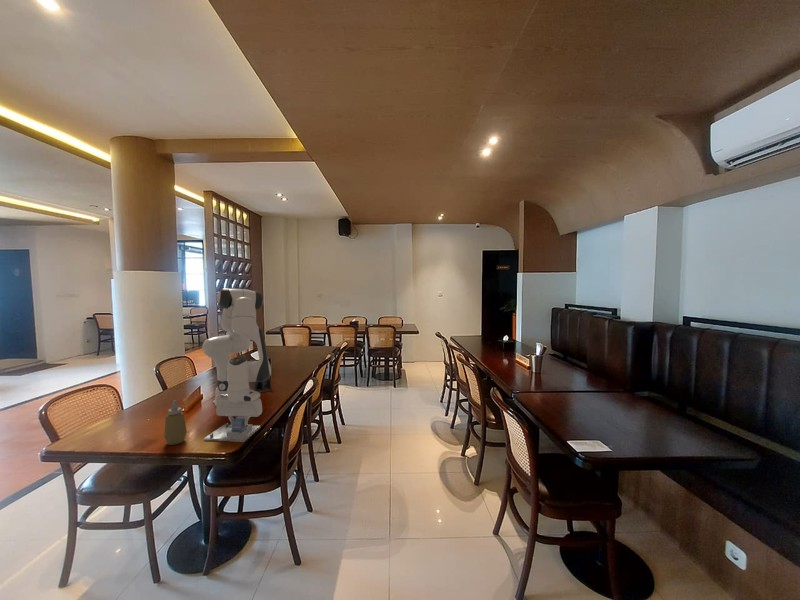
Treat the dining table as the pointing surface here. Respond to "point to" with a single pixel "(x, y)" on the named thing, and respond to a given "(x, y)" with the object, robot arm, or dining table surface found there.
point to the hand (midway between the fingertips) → (239, 425)
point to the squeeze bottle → (175, 425)
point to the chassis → (232, 433)
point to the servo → (238, 424)
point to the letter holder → (261, 386)
